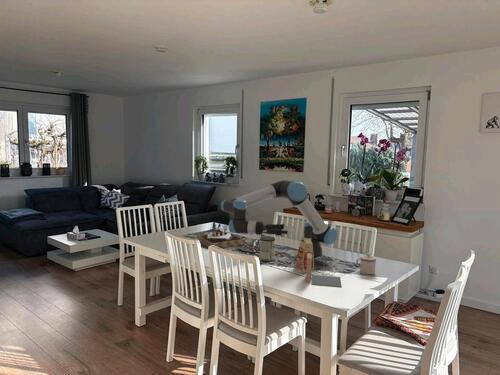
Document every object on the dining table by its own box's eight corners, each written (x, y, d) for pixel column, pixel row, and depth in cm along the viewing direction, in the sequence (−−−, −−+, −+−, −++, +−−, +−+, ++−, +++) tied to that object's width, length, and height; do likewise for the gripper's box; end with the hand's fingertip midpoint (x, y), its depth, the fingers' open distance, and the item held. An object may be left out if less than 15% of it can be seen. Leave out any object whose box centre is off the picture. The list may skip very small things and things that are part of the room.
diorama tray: (228, 236, 310) (228, 232, 310) (245, 244, 286) (245, 239, 286) (196, 240, 296) (196, 235, 295) (211, 249, 272) (211, 243, 271)
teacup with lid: (377, 272, 228) (378, 253, 227) (371, 276, 222) (372, 256, 220) (359, 267, 236) (360, 249, 235) (352, 271, 230) (353, 252, 228)
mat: (311, 284, 205) (311, 284, 205) (312, 275, 220) (312, 274, 220) (341, 287, 203) (341, 286, 202) (340, 277, 217) (340, 277, 217)
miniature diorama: (204, 245, 282) (204, 223, 280) (208, 239, 302) (208, 218, 300) (230, 246, 281) (231, 224, 279) (233, 239, 301) (233, 219, 299)
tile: (305, 282, 208) (306, 258, 207) (306, 276, 218) (307, 253, 217) (310, 283, 208) (311, 258, 206) (311, 277, 218) (312, 253, 216)
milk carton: (303, 271, 227) (304, 239, 225) (294, 267, 235) (295, 235, 233) (315, 269, 231) (316, 237, 229) (306, 265, 239) (307, 234, 237)
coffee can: (259, 255, 258) (260, 235, 256) (274, 256, 257) (275, 236, 255) (258, 260, 248) (259, 239, 246) (274, 261, 247) (275, 240, 245)
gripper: (259, 230, 227) (295, 232, 223) (252, 239, 205) (292, 241, 201) (259, 217, 227) (296, 219, 223) (252, 225, 204) (293, 228, 200)
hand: (294, 230), depth 212 cm, fingers open, 10 cm apart
